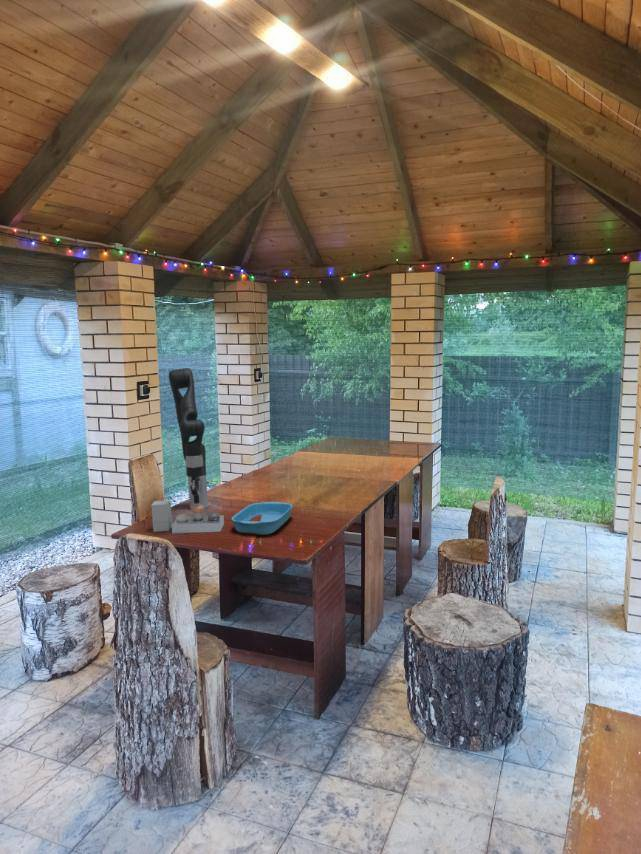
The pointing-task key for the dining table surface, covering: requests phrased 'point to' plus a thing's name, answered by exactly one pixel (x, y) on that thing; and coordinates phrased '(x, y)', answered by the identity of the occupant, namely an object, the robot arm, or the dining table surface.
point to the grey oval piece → (182, 517)
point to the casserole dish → (262, 517)
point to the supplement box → (161, 515)
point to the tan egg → (197, 511)
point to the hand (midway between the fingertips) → (196, 503)
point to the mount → (198, 525)
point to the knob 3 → (213, 516)
